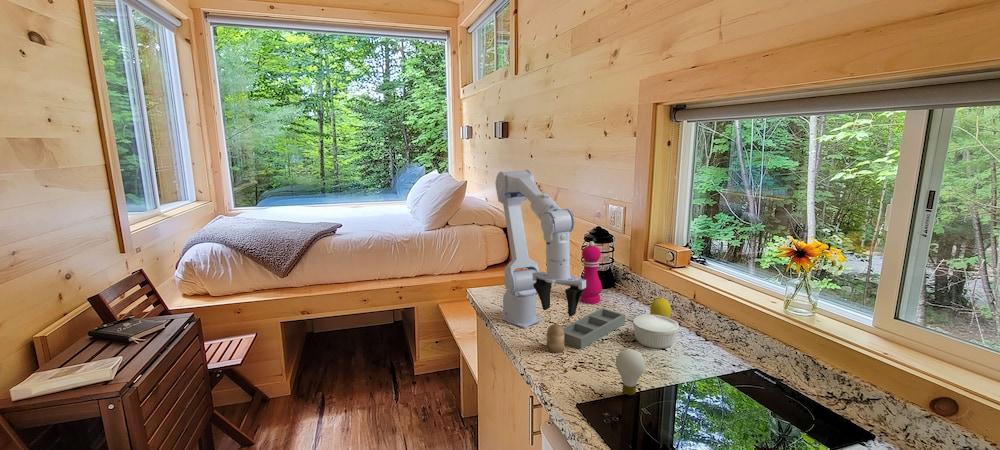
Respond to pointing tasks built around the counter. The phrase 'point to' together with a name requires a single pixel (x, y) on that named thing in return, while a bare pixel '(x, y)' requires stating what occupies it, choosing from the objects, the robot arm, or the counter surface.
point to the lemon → (660, 307)
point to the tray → (592, 327)
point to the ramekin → (655, 330)
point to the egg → (555, 339)
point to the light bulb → (630, 369)
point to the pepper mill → (591, 274)
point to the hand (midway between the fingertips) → (558, 312)
